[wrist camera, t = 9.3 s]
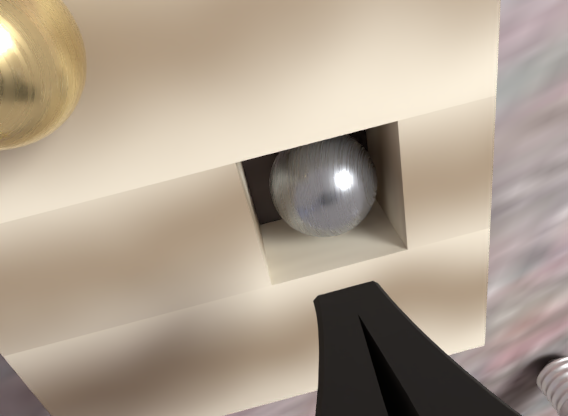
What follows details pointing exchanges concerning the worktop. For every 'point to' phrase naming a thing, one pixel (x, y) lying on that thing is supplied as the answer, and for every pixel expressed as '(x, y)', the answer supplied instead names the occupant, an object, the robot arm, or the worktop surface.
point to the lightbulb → (555, 384)
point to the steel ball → (324, 186)
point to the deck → (242, 197)
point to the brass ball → (38, 69)
